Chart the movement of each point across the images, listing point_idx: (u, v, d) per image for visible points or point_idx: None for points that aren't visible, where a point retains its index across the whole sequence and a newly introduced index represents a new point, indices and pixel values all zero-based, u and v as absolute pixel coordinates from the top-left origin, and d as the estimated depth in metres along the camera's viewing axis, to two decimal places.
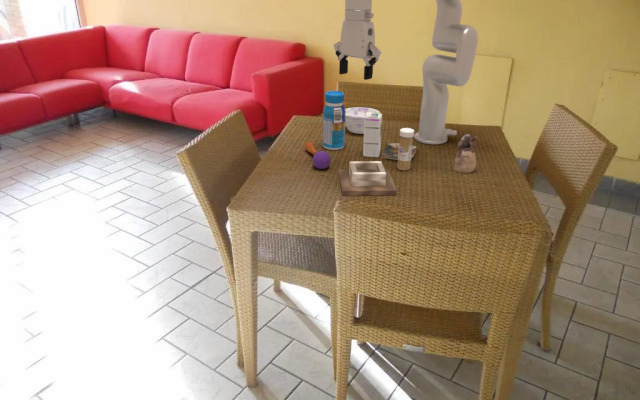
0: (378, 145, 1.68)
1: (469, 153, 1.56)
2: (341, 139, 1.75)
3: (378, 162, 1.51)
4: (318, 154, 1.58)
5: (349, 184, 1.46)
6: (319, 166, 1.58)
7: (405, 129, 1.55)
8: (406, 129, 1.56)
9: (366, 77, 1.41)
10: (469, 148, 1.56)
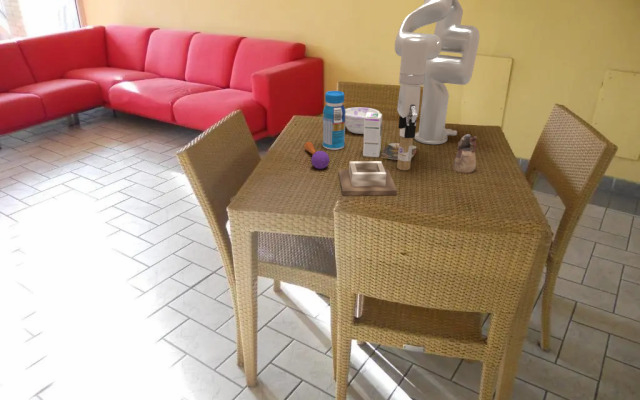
0: (378, 145, 1.68)
1: (469, 153, 1.56)
2: (341, 139, 1.75)
3: (378, 162, 1.51)
4: (316, 154, 1.58)
5: (349, 184, 1.46)
6: (317, 166, 1.58)
7: None
8: None
9: None
10: (469, 148, 1.56)
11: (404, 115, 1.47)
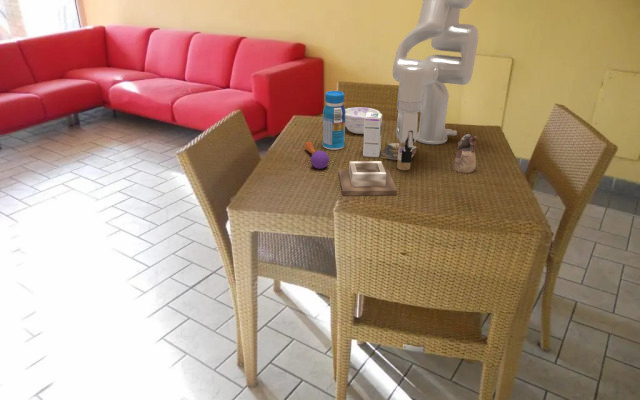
0: (378, 145, 1.68)
1: (469, 153, 1.56)
2: (341, 139, 1.75)
3: (378, 162, 1.51)
4: (316, 154, 1.58)
5: (349, 184, 1.46)
6: (317, 166, 1.58)
7: None
8: None
9: None
10: (469, 148, 1.56)
11: (402, 140, 1.52)
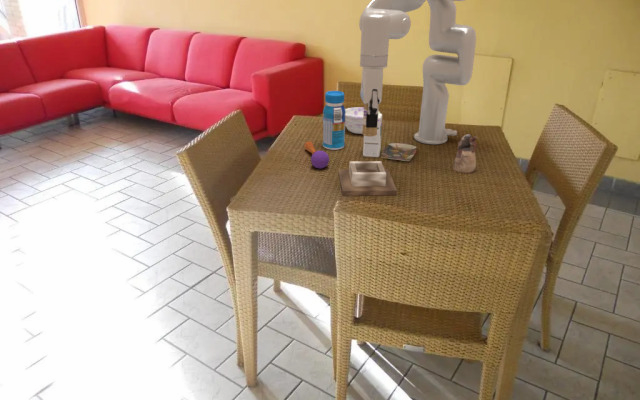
0: (378, 145, 1.68)
1: (469, 153, 1.56)
2: (341, 139, 1.75)
3: (378, 162, 1.51)
4: (316, 154, 1.58)
5: (349, 184, 1.46)
6: (317, 166, 1.58)
7: None
8: None
9: None
10: (469, 148, 1.56)
11: (366, 101, 1.33)
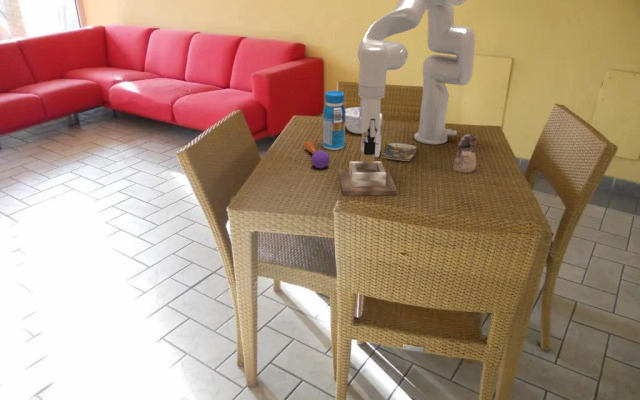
0: (378, 145, 1.68)
1: (469, 153, 1.56)
2: (341, 139, 1.75)
3: (378, 162, 1.51)
4: (317, 153, 1.58)
5: (349, 184, 1.46)
6: (318, 165, 1.59)
7: None
8: None
9: None
10: (469, 148, 1.56)
11: (364, 130, 1.37)
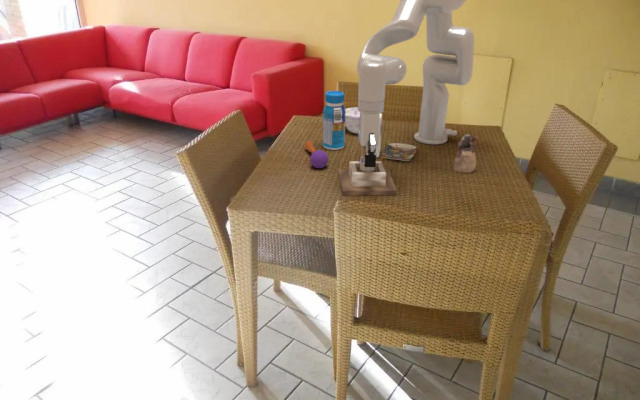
0: (378, 145, 1.68)
1: (469, 153, 1.56)
2: (341, 139, 1.75)
3: (378, 162, 1.51)
4: (315, 153, 1.58)
5: (349, 184, 1.46)
6: (316, 165, 1.59)
7: None
8: None
9: None
10: (469, 148, 1.56)
11: (363, 144, 1.39)
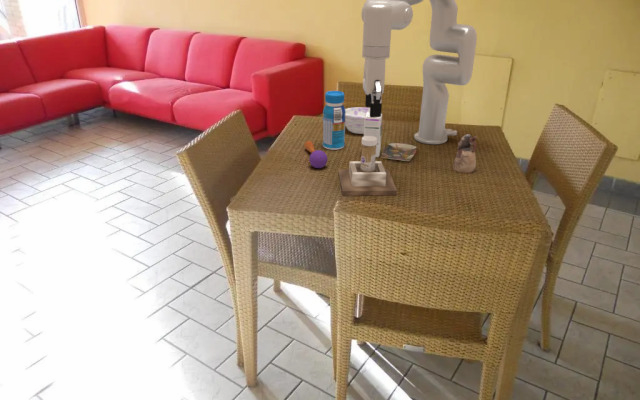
0: (378, 145, 1.68)
1: (469, 153, 1.56)
2: (341, 139, 1.75)
3: (378, 162, 1.51)
4: (314, 153, 1.58)
5: (349, 184, 1.46)
6: (315, 165, 1.59)
7: (367, 137, 1.44)
8: (368, 137, 1.44)
9: None
10: (469, 148, 1.56)
11: (368, 92, 1.34)
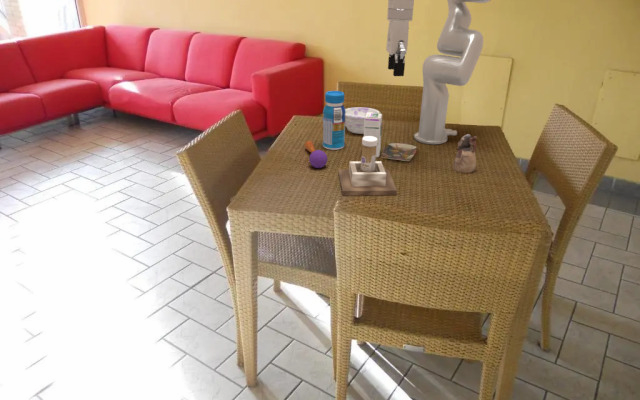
0: (378, 145, 1.68)
1: (469, 153, 1.56)
2: (341, 139, 1.75)
3: (378, 162, 1.51)
4: (314, 153, 1.58)
5: (349, 184, 1.46)
6: (315, 165, 1.59)
7: (368, 137, 1.43)
8: (369, 137, 1.44)
9: None
10: (469, 148, 1.56)
11: (392, 52, 1.45)
